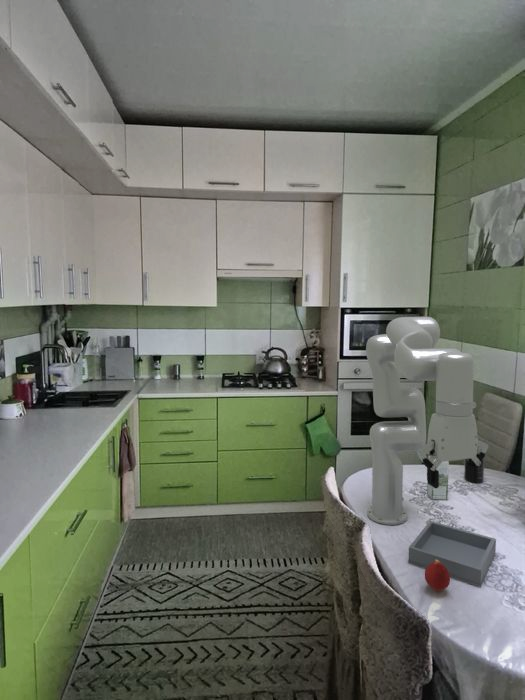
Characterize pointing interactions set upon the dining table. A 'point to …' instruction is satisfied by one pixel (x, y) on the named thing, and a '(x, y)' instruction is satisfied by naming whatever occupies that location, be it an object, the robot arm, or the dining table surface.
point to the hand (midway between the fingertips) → (452, 483)
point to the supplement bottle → (480, 471)
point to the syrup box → (440, 483)
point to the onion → (437, 576)
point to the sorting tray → (454, 551)
